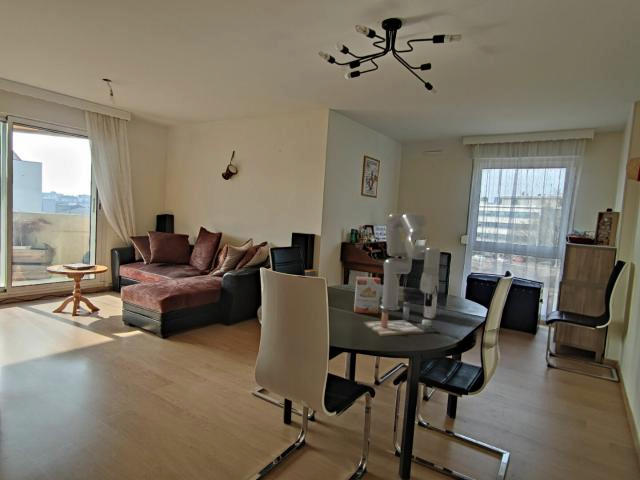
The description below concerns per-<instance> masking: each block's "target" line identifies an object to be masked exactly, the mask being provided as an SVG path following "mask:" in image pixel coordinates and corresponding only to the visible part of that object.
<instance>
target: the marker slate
mask: <svg viewBox="0 0 640 480" xmlns="http://www.w3.org/2000/svg"><path fill="white" fill-rule="evenodd" d="M410 308H411V303H410V302H409V301H408V302H407V301H405V302H403V309H402V310H403V312H402V320H405V321H406V322H408V321H409V319H410V318H409V317H410Z"/></svg>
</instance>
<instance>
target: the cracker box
mask: <svg viewBox="0 0 640 480" xmlns="http://www.w3.org/2000/svg"><path fill="white" fill-rule="evenodd" d="M381 282H382V279H381V278H380V277H369V276H356V279H355V293H354V302H353V303H354V305H353V311H354V313H359V314H376V315H378V314H379V308H380V295H381Z"/></svg>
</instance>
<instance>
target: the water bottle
mask: <svg viewBox="0 0 640 480" xmlns="http://www.w3.org/2000/svg"><path fill="white" fill-rule="evenodd" d="M437 300H438V294H436V297H433V299H432V306H431V307H427V306H425V300H424V302H423V303H424V304H423V317H424V318H426V319H428V320H431V319H432V320H433V319H436V313H437V312H436V311H437V303H438V301H437Z"/></svg>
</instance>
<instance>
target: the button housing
mask: <svg viewBox="0 0 640 480" xmlns="http://www.w3.org/2000/svg"><path fill="white" fill-rule="evenodd" d="M416 327H417V328H419V329H421V330H423V331H424V332H425V333H427V334H428V333H436V332H437V327H436V326H434V325H432V324H431V327H424V326H422V322H420V323H416ZM425 333H424V334H425Z"/></svg>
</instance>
